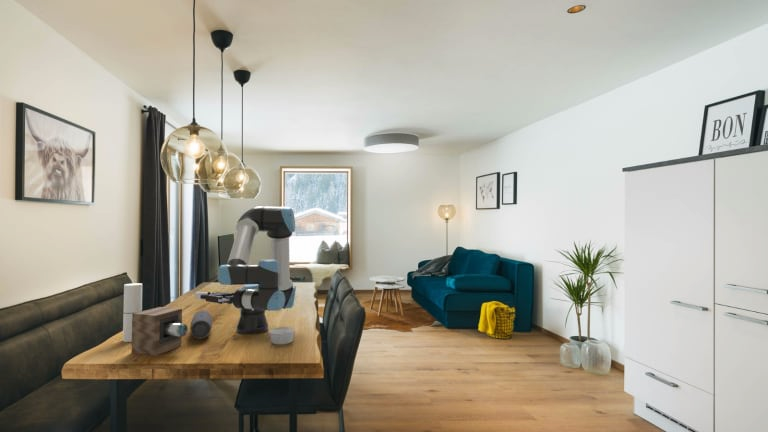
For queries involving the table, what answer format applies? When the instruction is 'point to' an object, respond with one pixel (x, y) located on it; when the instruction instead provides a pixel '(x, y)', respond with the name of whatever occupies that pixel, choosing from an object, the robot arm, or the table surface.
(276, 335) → the ramekin
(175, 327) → the peg
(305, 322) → the table surface
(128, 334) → the cylindrical container
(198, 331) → the bluetooth speaker
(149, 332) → the housing
